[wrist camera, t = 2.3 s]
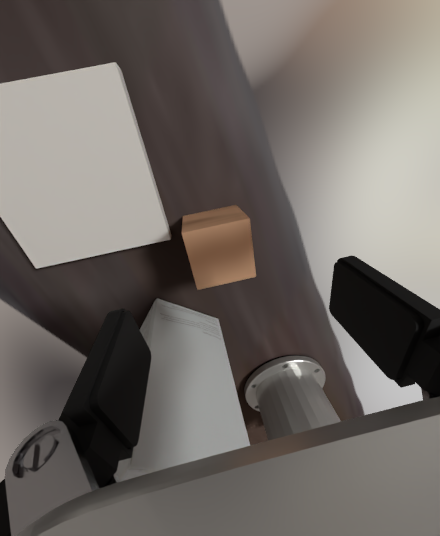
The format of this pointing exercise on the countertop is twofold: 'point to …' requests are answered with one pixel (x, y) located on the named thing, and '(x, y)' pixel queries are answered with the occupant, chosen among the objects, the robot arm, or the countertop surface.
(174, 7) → the countertop surface
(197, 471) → the robot arm
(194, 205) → the countertop surface
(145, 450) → the skincare box
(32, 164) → the chopping board
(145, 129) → the countertop surface
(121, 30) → the countertop surface
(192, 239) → the wooden cube
